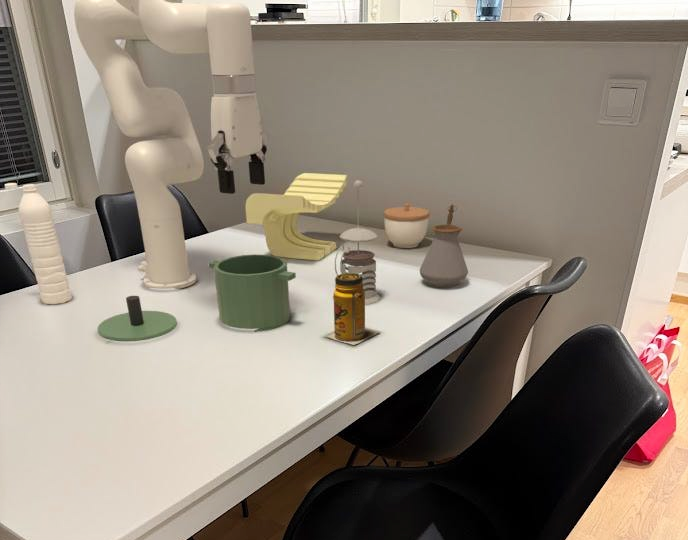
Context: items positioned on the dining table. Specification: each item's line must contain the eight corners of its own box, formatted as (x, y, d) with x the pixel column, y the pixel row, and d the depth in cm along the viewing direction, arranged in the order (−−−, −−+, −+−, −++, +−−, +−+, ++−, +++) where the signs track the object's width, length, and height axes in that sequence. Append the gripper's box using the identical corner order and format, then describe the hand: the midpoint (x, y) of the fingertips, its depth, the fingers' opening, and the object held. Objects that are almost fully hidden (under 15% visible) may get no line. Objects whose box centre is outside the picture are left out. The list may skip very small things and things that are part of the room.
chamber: (275, 338, 134) (271, 281, 128) (196, 322, 142) (188, 267, 136) (313, 315, 145) (311, 261, 139) (237, 301, 153) (232, 249, 147)
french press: (389, 296, 154) (391, 179, 141) (354, 309, 147) (353, 188, 134) (357, 287, 160) (356, 174, 147) (322, 300, 153) (318, 182, 140)
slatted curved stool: (297, 236, 202) (294, 172, 192) (347, 240, 197) (346, 175, 187) (250, 263, 178) (244, 192, 169) (305, 269, 173) (302, 195, 164)
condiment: (325, 337, 134) (323, 277, 128) (352, 325, 139) (352, 267, 133) (353, 346, 130) (353, 284, 124) (380, 333, 135) (381, 273, 129)
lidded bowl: (430, 250, 187) (432, 208, 181) (384, 251, 187) (384, 209, 181) (425, 238, 197) (427, 199, 192) (382, 239, 198) (383, 199, 192)
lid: (140, 349, 130) (133, 315, 127) (82, 335, 137) (74, 303, 133) (192, 323, 142) (188, 291, 138) (136, 311, 148) (131, 281, 145)
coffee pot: (465, 291, 157) (471, 224, 149) (416, 288, 159) (418, 222, 151) (471, 265, 174) (476, 204, 166) (426, 263, 176) (429, 203, 168)
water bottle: (77, 296, 158) (51, 181, 144) (62, 305, 152) (33, 187, 139) (43, 294, 159) (14, 181, 146) (27, 303, 154) (-5, 186, 141)
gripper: (245, 83, 129) (253, 179, 138) (186, 89, 116) (198, 195, 125) (278, 84, 125) (284, 182, 135) (221, 90, 113) (231, 198, 122)
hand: (243, 188), depth 130 cm, fingers open, 9 cm apart
